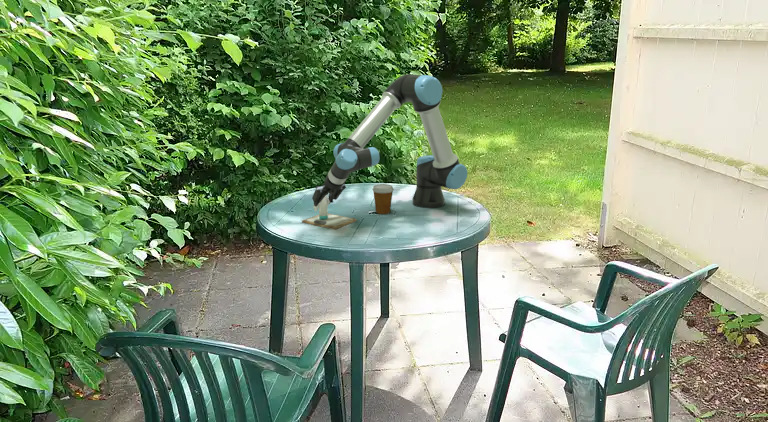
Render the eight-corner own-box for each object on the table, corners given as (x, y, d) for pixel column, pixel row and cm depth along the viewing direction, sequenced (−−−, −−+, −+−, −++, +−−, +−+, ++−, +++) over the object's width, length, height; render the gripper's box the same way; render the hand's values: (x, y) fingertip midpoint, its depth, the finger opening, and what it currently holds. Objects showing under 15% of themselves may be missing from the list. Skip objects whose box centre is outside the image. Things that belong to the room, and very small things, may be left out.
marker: (329, 217, 267) (328, 188, 264) (324, 220, 264) (323, 190, 261) (322, 216, 269) (321, 187, 266) (317, 218, 266) (316, 189, 263)
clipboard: (356, 220, 268) (356, 216, 267) (335, 229, 256) (335, 225, 255) (324, 214, 277) (323, 210, 277) (302, 222, 265) (301, 218, 265)
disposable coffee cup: (391, 215, 275) (391, 189, 272) (370, 214, 277) (370, 188, 274) (395, 210, 284) (395, 184, 281) (375, 208, 286) (374, 183, 283)
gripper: (320, 188, 245) (304, 218, 263) (357, 182, 254) (339, 212, 272) (314, 172, 248) (298, 203, 266) (351, 167, 257) (333, 198, 275)
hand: (319, 207), depth 269 cm, fingers closed on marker, 3 cm apart
